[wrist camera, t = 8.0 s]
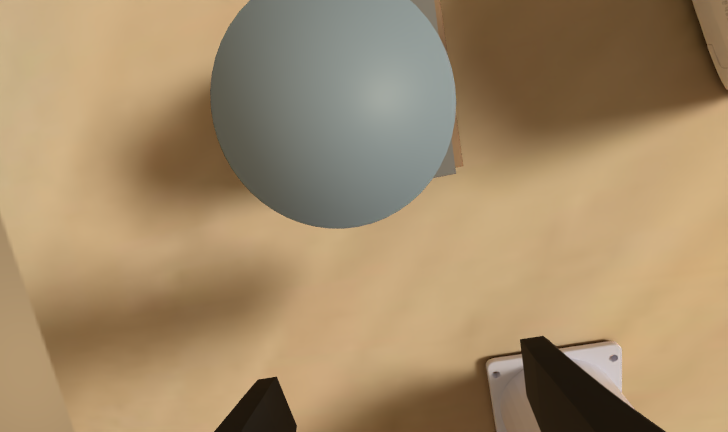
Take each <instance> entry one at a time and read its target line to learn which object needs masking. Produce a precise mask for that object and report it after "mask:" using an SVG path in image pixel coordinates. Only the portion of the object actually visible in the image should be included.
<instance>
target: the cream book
mask: <svg viewBox="0 0 728 432" xmlns="http://www.w3.org/2000/svg"><path fill="white" fill-rule="evenodd" d="M692 2H693V5H694V8H695V11H696V14H697V17H698V20H699V22H700V25H701V28H702V32H703V35H704V38H705V40H706V43H707V47H708V50H709V53H710V55H711V58H712V60H713V63H714V65H715V68H716V70H717V73H718V75H719V77H720V79H721V81H722V83H723V85H724V86H725V88H726V89H727V90H728V0H692Z"/></svg>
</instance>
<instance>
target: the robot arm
mask: <svg viewBox="0 0 728 432" xmlns="http://www.w3.org/2000/svg"><path fill="white" fill-rule="evenodd" d="M520 343H521V352H522V354H519V355H512V356H505V357H498V358H492V359H489V360H488V361H487V362H486V370H487V377H488V383H489V389H490V396H491V402H492V408H493V415H494V421H495V427H496V432H665V431H664V430H663V429H661V428H660V427H658V426H657V425H656V424H654V423H653V422H651V421H650V420H649V419H647V418H646V417H644V416H643V415H641V414H640V413H639V412H637V411H636V410H635V409H634V408H633V406H632V405H631V404H630V403H629V401H628V400H627V399H626V398H625V396H624V395H623V394H622V348H621V347H620V346H619V345H618V344H617V343H616V342H614V341H607V342H600V343H594V344H587V345H580V346H573V347H566V348H560V349H558V348H557V347H556V346H555V345H554V344H553V343H551V342H550V341H549V340H548V339H547V338H545V337H544V336H540V337H534V338H527V339H520ZM611 355H613V356H611ZM610 356H611V357H610ZM495 371H497V373H493V372H495ZM296 428H297V425H296V423H295V420H294V418H293V416H292V413H291V411H290V408H289V406H288V403H287V401H286V398H285V396H284V394H283V391H282V389H281V386H280V384H279V381H278V379H277V377H272V378H266V379H259V380H257V381H256V383H255V384H254V385H253V386H252V387H251V388H250V389H249V391H248V392H247V393H246V394H245V395H244V397H243V398H242V399H241V400H240V401H239V403H238V404H237V405H236V406H235V407H234V409H233V410H232V411H231V412H230V413H229V415H228V416H227V417H226V418H225V419H224V421H223V422H222V423H221V424H220V425H219V427H218V428H217V429H216V430H215V431H214V432H296Z"/></svg>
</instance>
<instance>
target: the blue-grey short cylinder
mask: <svg viewBox="0 0 728 432" xmlns="http://www.w3.org/2000/svg"><path fill="white" fill-rule="evenodd" d="M210 95H211V111H212V118H213V124H214V128H215V131H216V135H217V138H218V141H219V144H220V146H221V148H222V151H223V153H224V155H225V157H226V159H227V161H228V163H229V164H230V166H231V168H232V170H233V171H234V172H235V174H236V175H237V177H238V178H239V179H240V181H241V182H242V183H243V184H244V185H245V186H246V187H247V189H248V190H249V191H250V192H251V193H252V194H253V195H254V196H256V197H257V198H258V199H259V200H260V201H261V202H263V203H264V204H265V205H267V206H268V207H270V208H271V209H273V210H274V211H276V212H278V213H280V214H281V215H283V216H285V217H287V218H290V219H292V220H295V221H297V222H300V223H303V224H307V225H311V226H315V227H323V228H352V227H359V226H363V225H367V224H371V223H374V222H377V221H379V220H382V219H384V218H386V217H388V216H390V215H392V214H394V213H396V212H398V211H399V210H401V209H402V208H403V207H405V206H406V205H408V204H409V203H410V202H411V201H412V200H414V199H415V198H416V197H417V196H418V195H419V194H420V193H421V192H422V191H423V190H424V188H425V187H426V186H427V185H428V184H429V183H430V181H431V180H432V178H433V177H434V175H435V174H436V172H437V171H438V169H439V168H440V166H441V163H442V161H443V159H444V157H445V155H446V153H447V150H448V147H449V144H450V141H451V138H452V134H453V128H454V123H455V114H456V92H455V82H454V77H453V72H452V67H451V64H450V61H449V58H448V55H447V52H446V50H445V48H444V46H443V44H442V41H441V39H440V37H439V35H438V33H437V32H436V30H435V29H434V27H433V26H432V24H431V23H430V21H429V20H428V19H427V17H426V16H425V15H424V14H423V13H422V12H421V11H420V9H419V8H418V7H417V6H416V5H415V4H414V3H413V2H412V1H410V0H250V1H249V2H248V3H247V4H246V5H245V6H244V7H243V8H242V9H241V10H240V11H239V13H238V14H237V16H236V17H235V18H234V20H233V21H232V23H231V24H230V26H229V27H228V29H227V31H226V33H225V35H224V37H223V39H222V41H221V43H220V46H219V49H218V52H217V55H216V57H215V62H214V67H213V71H212V78H211V89H210Z"/></svg>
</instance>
